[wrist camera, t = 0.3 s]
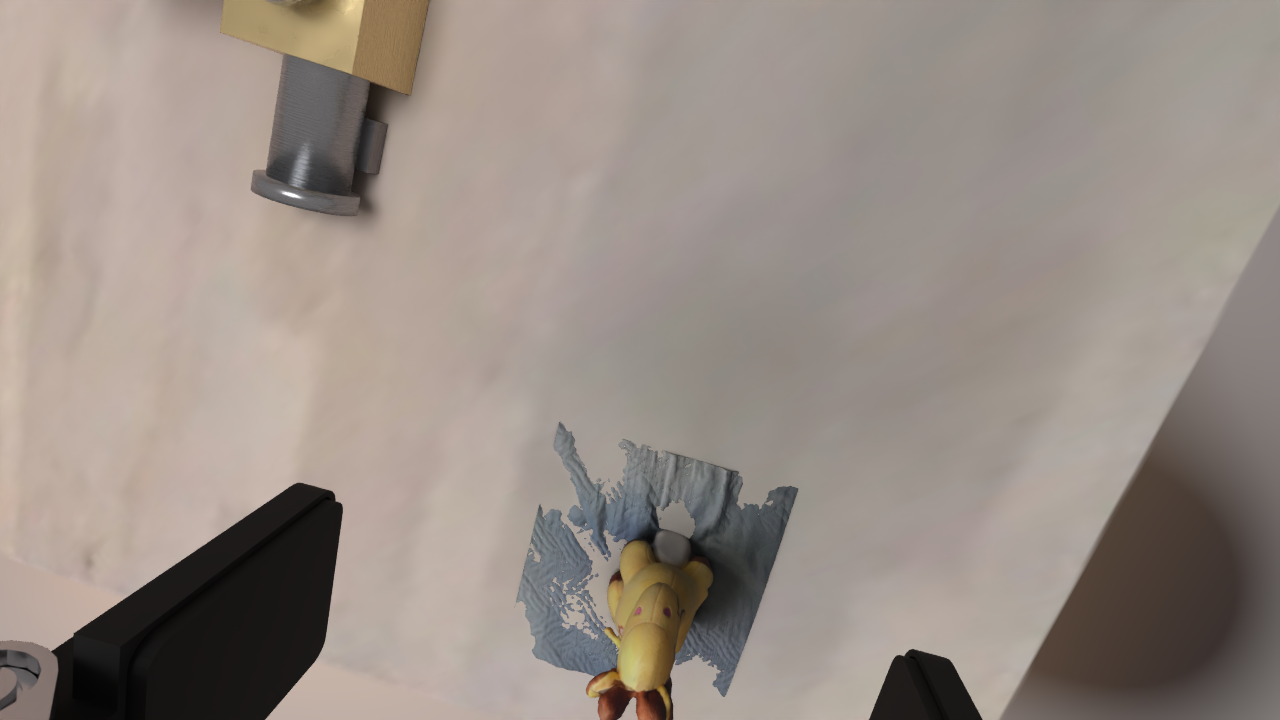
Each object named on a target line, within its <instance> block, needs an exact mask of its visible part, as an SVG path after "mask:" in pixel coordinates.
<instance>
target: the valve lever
mask: <svg viewBox="0 0 1280 720" xmlns="http://www.w3.org/2000/svg"><path fill="white" fill-rule="evenodd" d="M264 1H267V2H269V3H271V4H273V5H277V6H290V5H293V4H295V3H297V2H299V1H300V0H264Z"/></svg>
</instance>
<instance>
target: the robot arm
mask: <svg viewBox="0 0 1280 720" xmlns="http://www.w3.org/2000/svg"><path fill="white" fill-rule="evenodd" d="M342 514H343V507H342V504H341V503H339V502H336V501H335V494H334V493H333V492H332V491H329V490H326V489H322V488H318V487H315V486H311V485H307V484H304V483H296V484H294V485H292V486H291V487H289V488H288V489H286V490H285V491H283V492H282V493H280V494H279V495H277V496H276V497H274V498H273V499H272V500H270V501H269V502H267V503H266V504H264V505H263V506H261V507H260V508H258V509H257V510H255V511H254V512H252V513H251V514H249V515H248V516H246V517H245V518H243V519H242V520H241V521H239V522H238V523H236V524H235V525H233V526H232V527H230V528H229V529H227V530H226V531H224V532H223V533H221V534H220V535H218V536H217V537H215V538H214V539H212V540H211V541H210V542H208V543H207V544H205V545H204V546H202V547H201V548H199V549H198V550H196V551H195V552H193V553H192V554H190V555H189V556H187V557H186V558H184V559H183V560H181V561H180V562H179V563H177V564H176V565H174V566H173V567H171V568H170V569H168V570H167V571H165V572H164V573H162V574H161V575H159V576H158V577H156V578H155V579H153V580H152V581H150V582H149V583H147V584H146V585H145V586H143V587H142V588H140V589H139V590H137V591H136V592H134V593H133V594H131V595H130V596H128V597H127V598H125V599H124V600H122V601H121V602H119V603H118V604H117V605H115V606H114V607H112V608H111V609H109V610H108V611H106V612H105V613H103V614H102V615H100V616H99V617H97V618H96V619H94V620H93V621H91V622H90V623H88V624H87V625H85V626H84V627H83V628H81V629H80V630H78V631H77V632H75V633H74V636H73V637H72V638H70V639H69V640H67V641H66V642H64V643H63V644H61V645H60V646H59V647H57V648H56V649H54V650H53V651H50V650H49V649H48V648H45V647H43V646H40V645H38V644H35V643H31V642H22V641H12V640H11V641H0V720H265V719H266V718H267V717H268V716H269V714H270V713H271V712H272V711H273V710H274V709H275V707H276V706H277V705H278V704H279V703H280V702H281V700H282V699H283V698H284V697H285V696H286V695H287V693H288V692H289V691H290V690H291V689H292V688H293V686H294V685H295V684H296V683H297V682H298V681H299V679H300V678H301V677H302V676H303V675H304V674H305V672H306V671H307V670H308V669H309V668H310V667H311V665H312V664H313V663H314V662H315V660H316V659H317V658H318V656H319V654H320V652H321V650H322V648H323V645H324V642H325V638H326V632H327V624H328V617H329V610H330V602H331V595H332V588H333V580H334V573H335V565H336V558H337V551H338V543H339V536H340V529H341V521H342ZM869 720H982V718H981V716H980V714H979V712H978V710H977V708H976V707H975V705H974V703H973V701H972V699H971V697H970V695H969V693H968V692H967V690H966V688H965V686H964V684H963V682H962V680H961V679H960V677H959V675H958V673H957V671H956V669H955V667H954V665H953V664H952V662H951V661H950V660H949V659H947V658H944V657H940V656H937V655H933V654H929V653H926V652H922V651H918V650H915V649H911V650H909V651H908V652H907V653H906V654H905V656H901V655H897V656H896V657H895V658H894V659H893V661H892V663H891V666H890V668H889V671H888V673H887V676H886V678H885V681H884V684H883V686H882V689H881V691H880V694H879V696H878V699H877V701H876V704H875V706H874V709H873V711H872V714H871V716H870V719H869Z"/></svg>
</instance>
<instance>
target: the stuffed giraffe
mask: <svg viewBox="0 0 1280 720" xmlns="http://www.w3.org/2000/svg"><path fill="white" fill-rule="evenodd" d="M622 440H623V439H622ZM574 442H575V439H574V437H573V436H572V432H571V431H570V432H568V431H566V429H565V426H564V425H563V424H562V423H561V422H559V426H558V430H557V434H556V438H555V443H554V448H555V451H556V452H557V453H558V454H559V455H560V456H561V457H562V459H563V464H564V466H565V468H566V469H567V470H568V471H569V472H571V479H570V480H571V481H572V482H573V484H574V485H575V486H576V492H577V495H578V498H579V502H580V505H581V507H580V508H582V509H583V510H581V509H579V507H578V506H576V505H574V506H573V507H572V508H571V509H570V513H569V515H567V517H568V518H569V520H570V521H572V522H573V524H574V525H575V526H578V527H582V528H583V529H584V530H585V531H586V530H589V529H593V534H592V535H590V536H591V541H592V542H593V543H594V544H595V545H596V546H597V547H598V549H599V550H600V551H601V554H602V555H606V552H607V554H608V557H611V553H610V551H608V546H607V544H606V537H604V534H603V532H604V530H608V531H609V533H608V534H611V535H612V536H616V537H614V539H613V541H614V542H618V541H619V540H620V539H626V540H627V541H628V543H627V544H624V545H625V546H624V548H623V550H622V552H621V557H620V571H618V572H616V573H615V574H614V575H613V576H612V578H611V579H610V583H609V586H608V593H607V599H608V605H609V609H610V611H611V614H612V617H613V621H614V622H615V624H616V627H617V631H618V634H619V636H618V637H617V636H616V634H615V633H614V631H613V629H612V628H611V627H607V628H606V627H605V626H603V624H602V622H601V621H600V620H599V619H598V618H597V616H596V613H595V612H594V611H593V609H592V606H591V605H590V603H589V601H588V600H590V601H591V602H593V598H592V597H591V596H590V595H589V590H584V591H582V594H578V593H577V594H576V596H578V597H580V598H581V600H582V601H584V602H586V603H587V604H588V608H590V609H591V614H592V616H593V618H594V619H595V623H596V624H599V627H597V625H596V624H595V623H594V622H593V621H592V619H591V618H590V616H589V615H588V614H587V612H586V610H585V608H584V606H583V608H582V610H579V611H578V612H580V613H584V615H585V620H584V621H583V622H586V621H587V622H588V623H589V625H590V626H589V627H587V626H583V629H584V628H588V629H589V630H590V629H592V631H591V632H592V633H594V635H596V634H598V638H597V640H595V638H596V637H595V638H594V639H591V636H590V635H588V634H586V633H583V629H577V626H576V625H577V622H576V625H570V629H566V628H565V627H562V625H561V624H562V622H563V623H565V621H564V620H563V618H562V616H560V612H561V610H562V612H563V614H566V615H567V613H566V610H565V608H564V606H565V607H567V608H568V610H571V611H575V610H574V609H572V608H571V606H570V605H572V604H573V603H570V604H566V602H567V600H566V595H568V594H569V595H575V592H578V591H581V588H583V589H584V588H585V585H587V584H588V582H587V581H588V580H587V579H586V580H584V581H583V582H582V580H583V579H584V578H585V577H586V576H587V575H590V574H591V570H592V568H591V565H592V562H593V561H592V560H589V556H588V555H587V554H586V551H584V550H583V549H582V548H581V546H580V545H579V543H578V541H577V539H576V538H575V536H574V534H573V532H572V531H571V529H570V528H569V527H568V526H567V524H564V523H563V522H562V521H561V519H560V517H561V515H562V513H561V511H559V510H554V509H551V510H550V511H549V512H548V513H547V514H546V515H545V516H544V517H545V518H546V519H545V518H544V517H542V514H543V511H542V507H541V506H540V505H539V509H538V513H537V517H536V521H535V525H534V529H533V534H532V538H531V542H532V544H533V546H534V549H535V551H536V552H537V553H538V554H539V555H540V556H541V559H540V562H539V563H538V562H536V561H533V560H534V552H533V550H532V549H531V548H529V550H528V554H529V553H530V552H533V554H531V555H529V556H528V555H527V558H526V562H525V566H524V570H523V575H522V579H521V583H520V587H519V592H518V596H517V600H516V603H517V602H520V601H523V602H524V604H525V605H526V609H527V610H526V618H527V619H528V621H529V622H530V627H531V635H533V636H535V642H536V643H535V647H534V648H533V649H532V652H533V654H534V655H535V657H536V658H537V659H540V660H544V661H546V662H548V663H550V664H552V665H554V666H556V667H559V668H564V669H567V670H574V671H578V672H583V673H587V674H590V675H593V676H595V677H594V678H593V679H592V680H591V681H590V682H589V684H588V686H587V688H586V693H587V695H588V696H589V697H590V698H593V697H594V698H596V697H600V698H599V701H598V704H599V705H598V714H599V717H600V720H617V719H619V718H620V717H621V716H622V714H623V713H624V711H625V708H626V706H627V705H628V704H629V701H630V700H631V698H632V697H635V698H636V700H637V703H636V713H637V717H638V720H673V703H672V699H671V688H672V681H671V678H670V673H671V670H672V667H673V664H674V661H675V660H677V661H676V663H675V665H679V664H681V663H682V662H686V661H688V660H692V657H694V656H695V655H698V653H700V654H699V658H701V657H702V656H703V657H704V658H702V660H703V662H704V661H708V660H711V662H710V663H709V664H708V665H709V666H710V665H712V667H714V665H713V664H715V665H717V669H718V670H720V671H721V672H720V673H719V674H716V675H717V679H716V680H715V681H713V685H714V687H717V688H718V690H719V692H720V694H721V695H722V696H723V697H725V695H726V693H727V691H728V688H729V686H730V683H731V680H732V677H733V675H734V672H735V669H736V667H737V664H738V661H739V658H740V656H741V653H742V651H743V648H744V645H745V643H746V640H747V637H748V635H749V632H750V629H751V627H752V624H753V621H754V618H755V616H756V613H757V610H758V607H759V604H760V601H761V598H762V595H763V593H764V590H765V587H766V584H767V581H768V578H769V574H770V572H771V569H772V567H773V564H774V561H775V558H776V555H777V552H778V549H779V546H780V543H781V540H782V537H783V534H784V530H785V527H786V524H787V522H788V519H789V515H790V512H791V509H792V507H793V504H794V500H795V497H796V495H797V492H798V488H795V487H791V486H789V487H784V486H783V487H778V488H777V489H775V490H773V491H770V492H769V493H768V498H767V501H766V502H769V501H771V500H773V503H772V505H771V506H768V505H766V504H765V503H766V502H765V503H764V504H763V505H762V508H761V509H760V510H759V506H758V505H757V504H755V505H753V504H749V505H747V504H746V503H744V506H745V508H744V509H743V510H741V508H740V507H739V506H738V505H737V504H736V503H737V501H738V494H739V492H740V489H741V487H742V485H743V483H742V477H741V476H738V473H739V472H738V471H727V470H724V469H723V468H721V467H717V466H714V465H710V464H708V463H705V462H702V461H698V460H694V459H691V458H688V457H682V456H679V455H673V454H670V453H668V452H666V451H662V454H663V457H661V458H660V457H659V458H658V456H657V454H658V452H657V451H655V452H654V451H653V450H649V449H648V447H649V446H646V445H642V446H641V447H642V449H639V448H638V449H637V448H636V444H633V443H632V442H631V441H627V440H623V441H622V442H621V443H619V447H620V448H621V449H626V450H627V452H628V453H627V454H625V455H626V456H627V465H626V467H625V468H624V469H623V472H624V474H625V476H623V478H622V479H623V481H624V485H623V486H622V485H621V484H620V482H617V487H618V489H619V491H620V493H621V496H622V498H620V497H619V494H618V492H617V491H615V489H614V487H611V489H612V492H613V493H614V497H615V499H616V501H617V502H616V501H615V500H614V499H613V498H611V497H610V499H609V500H610V502H611V504H607V503H606V497H605V495H604V494H602V493H600V491H601V489H602V487H603V486H604V483H605V482H606V481H605V482H603V484H601V485H600V484H599V483H597V484H593V483H592V482H591V481H590V478H588V477H587V474H586V472H587V470H586V468H584V466H585V465H584V464H583V462H582V461H581V460H580V459H579V455H578V454H577V453H576V448H575V447H574ZM624 445H625V446H626V447H624ZM628 448H630V450H629V449H628ZM628 454H630V455H631V456H629V455H628ZM686 458H687V459H686ZM660 459H661V462H660V461H659V460H660ZM668 460H669V461H668ZM667 461H668V462H667ZM666 462H667V463H666ZM664 464H665V466H663V465H664ZM687 464H691V465H690V467H687V468H685V466H686V465H687ZM582 465H584V466H582ZM660 467H661V468H660ZM686 474H688V475H686ZM685 475H686V476H685ZM600 481H601V479H597V482H600ZM608 481H609V482H610V480H609V479H608ZM662 489H664V490H663V491H662ZM607 495H608V496H611V494H608V492H607ZM678 499H681V500H683V501H684V503H685V507H686V508H687V510H688V512H689V513H690V516H691V518H694V520H695V526H696V527H695V530H694V532H693V535H692V536H691V538H690V539H689V538H687V537H685V536H683V535H681V534H679V533H676V532H673V531H669V530H665V529H661V528H659V523H658V517H657V514H656V506H660V505H661V510H662V511H664V509H665V507H668V506H669V503H671V502H672V500H673V501H675V503H678V501H677V500H678ZM689 501H690V502H689ZM679 503H680V502H679ZM757 513H758V514H759V515H758V514H757ZM660 520H661V517H660ZM585 523H587V525H586V526H585ZM563 524H564V528H565V529H564V528H563V527H562V525H563ZM584 530H582V529H580V531H579V532H577V533H581V532H583V531H584ZM541 536H542V539H541ZM534 538H535V540H536V541H535V540H534ZM584 539H586V538H584ZM651 541H652V543H651V544H650V542H651ZM530 544H531V543H530ZM588 544H589V545H591V543H590V542H589V543H588ZM591 547H592V546H591ZM584 548H585V547H584ZM620 550H621V549H620ZM593 551H594V549H593ZM604 558H605V559H606V560H607V562H608V558H607V557H605V556H604ZM566 562H567V563H566ZM562 571H564V572H562ZM598 576H599V575H598V573H597V574H596V575H595V577H598ZM555 577H556V578H557V581H556V582H557V583H559V584H560V586H558V585H557V584H556V583H554V582H552V581H553V579H554V578H555ZM572 578H574V579H572ZM592 578H593V575H591V576H590V578H589V580H591V579H592ZM571 579H572V581H569V583H568V584H566V587H567V588H568V590H564V591H566V594H563V592H562V590H563V586H564V585H563V584H562V583H563V582H566V581H567V580H571ZM579 582H582V583H581V585H578V586H577V584H578V583H579ZM551 586H552V587H553V588H554V590H555V591H554V592H552V590H551V589H550V588H549V587H551ZM572 587H575V588H576V590H575V591H574V590H573V589H572ZM585 596H587V599H588V600H586V599H585ZM550 597H551V598H552V602H551V601H550ZM560 598H561V599H562V600H563V603H564V605H562V600H561V599H560ZM573 598H574V597H572V599H573ZM555 600H556V602H555ZM577 604H578V605H580V607H581V605H583V603H581V601H580V600H578V601H577ZM552 605H553V606H552ZM559 605H562V607H561V608H560V607H559ZM515 606H516V605H515ZM594 606H595V607H596V604H594ZM600 617H601V618H602V619H603V617H602V616H600ZM567 618H569V617H568V615H567ZM605 622H606V621H605ZM565 624H569V623H565ZM582 624H584V623H582ZM601 628H602V629H603V630H604V631H602V630H601ZM608 637H609V638H608ZM603 641H604V642H603ZM612 642H614V644H612ZM616 646H617V647H618V650H617V651H616V650H615V649H617V648H616ZM618 651H619V652H618ZM617 652H618V654H616V653H617ZM589 653H591V654H589ZM690 653H691V654H690ZM689 654H690V656H687V655H689ZM684 656H685V657H684ZM723 670H724V672H722V671H723Z"/></svg>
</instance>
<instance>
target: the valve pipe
mask: <svg viewBox="0 0 1280 720" xmlns="http://www.w3.org/2000/svg"><path fill="white" fill-rule="evenodd" d="M428 4H429V0H300V1H299V2H297V3H295V4H293V5H290V6H277V5H273V4H271V3H269V2H267V1H264V0H224V3H223V11H222V19H221V27H220V32H221V33H223V34H226V35H229V36H232V37H235V38H238V39H240V40H243V41H246V42H249V43H252V44H255V45H257V46H260V47H263V48H266V49H269V50H272V51H274V52H277V53H280V54H283V62H282V68H281V75H280V82H279V88H278V95H277V102H276V108H275V115H274V122H273V128H272V135H271V142H270V148H269V155H268V161H267V168H266V170H254V171H253V176H252V183H251V191H252V192H254V193H256V194H258V195H260V196H262V197H264V198H267V199H270V200H273V201H276V202H279V203H282V204H286V205H289V206H293V207H297V208H301V209H305V210H310V211H315V212H320V213H325V214H332V215H340V216H356V215H357V214H358V209H359V204H360V199H361V197H360V196H359V195H357V194H356V193H353V192H351V186H352V181H353V175H354V170H355V169H356V170H359V171H362V172H365V173H373V174H378V172H379V167H380V162H381V157H382V151H383V146H384V141H385V136H386V131H387V126H388V124H385V123H382V122H378V121H375V120H372V119H369V118H366V117H364V116H365V110H366V105H367V99H368V94H369V89H370V83H373V84H376V85H379V86H382V87H385V88H388V89H392V90H395V91H398V92H401V93H404V94H407V95H410V94H411V89H412V84H413V79H414V74H415V69H416V64H417V59H418V54H419V49H420V44H421V39H422V34H423V29H424V24H425V19H426V14H427V9H428Z"/></svg>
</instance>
